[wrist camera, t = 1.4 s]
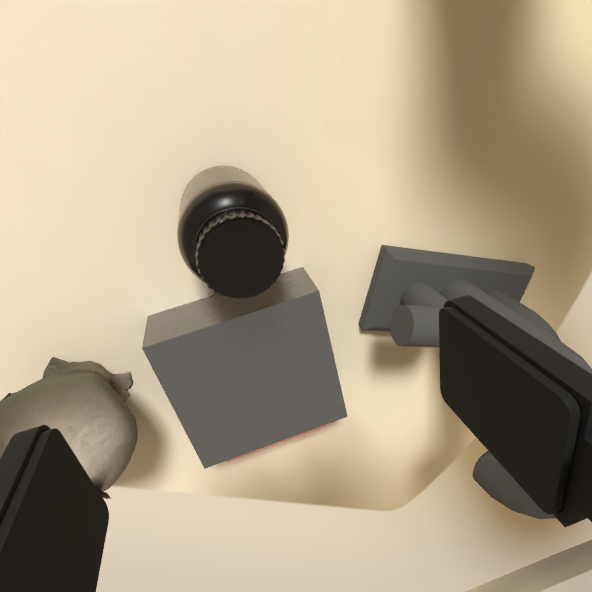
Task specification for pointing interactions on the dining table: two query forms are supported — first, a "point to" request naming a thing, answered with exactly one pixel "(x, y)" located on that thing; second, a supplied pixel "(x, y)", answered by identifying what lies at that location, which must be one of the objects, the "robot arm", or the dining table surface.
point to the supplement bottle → (232, 232)
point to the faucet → (425, 323)
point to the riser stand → (247, 368)
